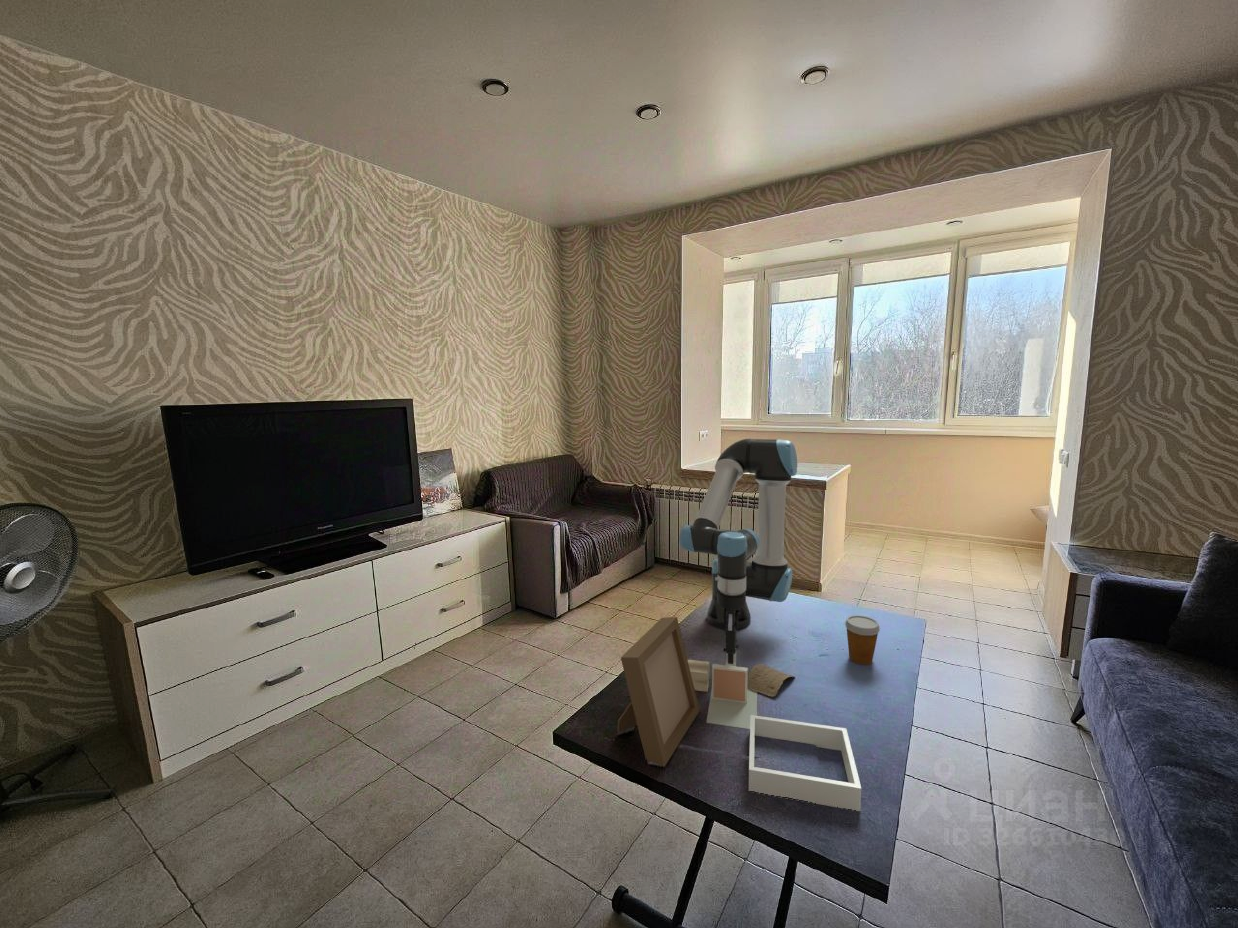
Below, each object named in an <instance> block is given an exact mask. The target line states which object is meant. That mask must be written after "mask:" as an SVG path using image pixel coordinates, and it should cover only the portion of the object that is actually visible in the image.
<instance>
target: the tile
mask: <svg viewBox="0 0 1238 928" xmlns="http://www.w3.org/2000/svg"><path fill="white" fill-rule="evenodd" d="M748 669H749V668H748V667H745V666H744V667H743V666H737V665H736V666H728V665H726V664H718V663H712V666H711V690H712V699H720V700H727V701H734V702H742V703H747V680H748V673H749V671H748Z"/></svg>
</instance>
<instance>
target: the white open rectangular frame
mask: <svg viewBox="0 0 1238 928" xmlns="http://www.w3.org/2000/svg"><path fill="white" fill-rule="evenodd" d="M755 736H756V737H763V738H770V739H774V740H775V739H776V740H784V741H789V742H795V743H796V742H797V743H803V744H808V745H815V748H820V749H821V748H822V749H828V750H834V751H840V752H841V755H842V761H843V764H844V768H845V769H844V770H845V773H846V778H847V781H848V782H847V781H839V780H836V779H835V780H834V779H828V778H823V777H817V776H812V775H811V776H810V775H804V774H798V773H795V772H794V773H793V772H787V771H782V770H774V769H769V768H762V767H757V766H755ZM748 753H749V756H748V757H749V758H748V792H749V791H755V792H759V793H758V794H760V793H764V794H763V795H765V794H768V795H767V796H771V795H774V796H773V797H776V796H781V797H780V798H782V797H789V798H793V799H799V800H804V801H808V802H807V803H810V802H812V803H811V804H815V803H816V805H822V806H827V807H832V808H837V807H838V809H843V808H846V809H845V810H848V809H852V810H851V811H854V810H856V812H859V811H860V812H861V806H862V805H861V804H862V786H861V782H860V781H861V780H860V777H859V774H858V773H859V772H858V770H857V769H858V768H857V766H856V761H855V757H854V754H853V753H854V752H853V750H852V746H851V742H850V737H849V733H848V730H847V727H846V728H845V727H841V726H840V727H839V726H832V725H824V724H817V723H810V722H803V721H797V720H790V719H784V718H783V719H782V718H775V717H768V716H761V715H757V716H755V715H751V716H750V729H749V751H748ZM793 799H792V800H793ZM799 800H798V801H799ZM804 801H803V802H804Z"/></svg>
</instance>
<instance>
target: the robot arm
mask: <svg viewBox="0 0 1238 928" xmlns="http://www.w3.org/2000/svg"><path fill="white" fill-rule="evenodd" d="M796 451H797V450H796V447H795V445H794V443H793V442H792V441H791V440H787V439H780V438H778V439H777V438H775V439H771V438H770V439H767V438H766V439H763V438H760V439H758V438H744V439H740V440H738V441H735V442H734V443H732V444H731V445H729V446H728V447H727V448H726V449H725V450H723V452H721V454H720V456H719V457H718V458H717V461H716V462H715V464H714V470H715V471H714V472H715V473H714V474H713V476H712V479H711V481H710V484H709V486H708V489H707V491H706V494H705V496H704V498H703V500H702V502H701V505H700V507H699V510H698V512H697V515H696V516H695V519H694V521H693V524H686V525H684V526H683V527H682V526H681V527H682V528H681V529H680V533H679V537H678V538H679V539H678V540H679V545H680V548H681V549H682V550H684V551H689V552H693V553H701V554H709V555H714V556H715V555H716V556H717V557H716V558H715V559H714V560H713V561H712V566H711V567H712V569H711V595H712V596H711V600H710V603H709V607H708V609H707V613H706V616H707V617H706V620H707V622H708V623H709V624H710V625H712V626H713V627H716V628H719V629H724V630H725V647H723V648H722V649H723V650H722V651H723V652H725V665H728V666H737V649H739V644H737V630H741V629H745V628H747V627H749V626H750V624H751V619H752V617H751V616H752V615H751V612H750V610H749V607H748V603H747V597H749V598H753V599H758V600H763V601H764V600H765V601H769V602H776V603H782V602H784V601H786V600H787V598H788V596H789V593H790V590H791V586H792V582H793V576H794V575H793V573H794V572H793V569H792V568H790V567H788V562H789V561H788V560H787V559H786V558H785V557H784V542H785V541H784V540H785V518H786V500H787V499H786V498H787V497H786V496H787V494H786V493H787V485H789V484H790V482H792V477H795V476H796V475H797V473H798V457H797V456H798V455H797V452H796ZM744 474H754V480H755V481H756V482H757V483H758V507H757V508H758V509H757V511H758V513H757V531H756V532H757V533H756V532H755V531H754V530H752V529H750V528H742V529H739V530H728V529H720V525H721V524H722V520H723V517H724V515H725V513H726V509H727V508H728V504H729V502H730V499H731V497H732V495H733V492H734V489H735V487H736V485H737V483H738V481H739V480H741V478H742V477H743V476H744ZM753 555H754V556H753ZM750 558H751V562H750V561H748V560H749V559H750Z"/></svg>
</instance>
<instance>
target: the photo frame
mask: <svg viewBox="0 0 1238 928" xmlns="http://www.w3.org/2000/svg"><path fill="white" fill-rule="evenodd" d="M620 660H621V665H622V668H623V673H624V676H625V677H624V678H625V681H626V684H627V689H628V693H629V697H630V700H631V701H630V702H629V704H628V705H627V707H626V708H625V710H623V713H622V714H621V715H620V717H619V718H618V720H617V731H618V732H619V731H622V730H626V729H628V728H631V727H634V726H636V727H637V729H638V733H639V737H640V741H641V745H642V749H643V753H644V757H645V760H646V759H647V760H649V761H651V762H654V763H656V764H659V765H660V766H659V767H662V766H663V767H662V768H665V767H666V765H667V764H668V762H669V760H670V759H671V757H672V756H673V755H674V753H675V751H676V749H677V748H678V746H679V745H680V743H681V742H682V740H683V738H684V736H685V735H686V733H687V731H688V730H689V729H690V727H691V725H692V724H693V723H694V720H695V719H696V718H697V716H698V714H699V713H700V706H699V702H698V698H697V694H696V690H695V689H694V685H693V681H692V677H691V673H690V669H689V664H688V660H689V659H688V657H687V652H686V650H685V644H684V641H683V637H682V632H681V629H680V624H679V620H678V617H677V616H672V617H671V616H670V617H667V616H666V617H661V618H660V619H659V620H657V622H656V623H654V625H653V626H652V627H650V628H649V629H648V630H647V631H646V632H645V633H644V634H643V635H642V636H641V637H640V638H639V639H638V640H637V641H636V642H635V643H634V644H633V645H632V646H630V648H629V649H628V650H627V651H626V652H624V654H622V656H620Z"/></svg>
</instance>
